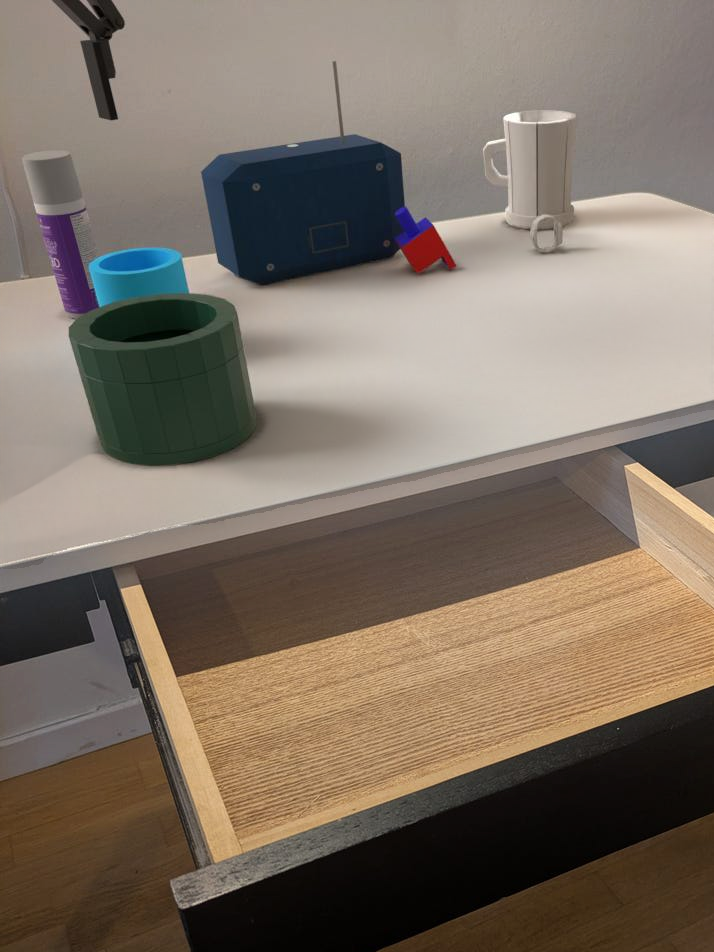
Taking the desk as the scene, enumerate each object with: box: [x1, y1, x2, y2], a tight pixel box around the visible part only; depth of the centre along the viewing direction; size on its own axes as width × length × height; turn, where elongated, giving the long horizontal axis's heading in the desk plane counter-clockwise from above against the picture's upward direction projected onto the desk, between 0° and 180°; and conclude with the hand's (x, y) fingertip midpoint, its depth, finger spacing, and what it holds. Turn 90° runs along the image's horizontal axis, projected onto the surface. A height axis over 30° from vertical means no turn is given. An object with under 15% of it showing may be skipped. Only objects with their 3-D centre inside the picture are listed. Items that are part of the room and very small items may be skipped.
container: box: [21, 149, 100, 320], centre depth 98 cm, size 5×5×15 cm
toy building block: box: [395, 206, 457, 275], centre depth 109 cm, size 4×4×8 cm
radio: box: [200, 60, 406, 286], centre depth 107 cm, size 21×9×20 cm, turn 123°
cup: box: [482, 109, 577, 231], centre depth 121 cm, size 10×9×12 cm
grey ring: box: [529, 215, 564, 254], centre depth 113 cm, size 4×2×4 cm, turn 103°
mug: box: [89, 247, 190, 307], centre depth 92 cm, size 12×8×8 cm
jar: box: [68, 292, 258, 467], centre depth 76 cm, size 12×12×9 cm
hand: (41, 130), depth 92 cm, fingers open, 13 cm apart
